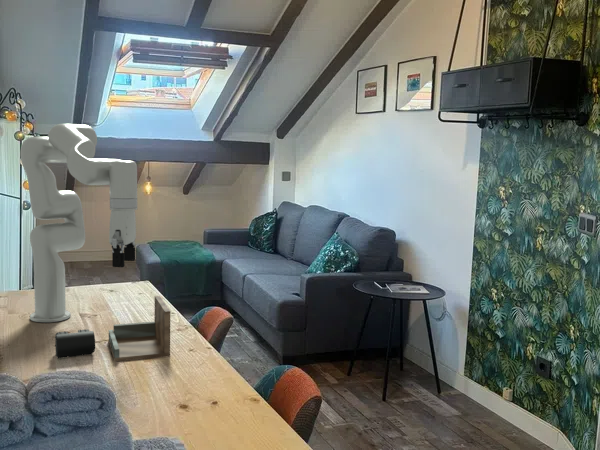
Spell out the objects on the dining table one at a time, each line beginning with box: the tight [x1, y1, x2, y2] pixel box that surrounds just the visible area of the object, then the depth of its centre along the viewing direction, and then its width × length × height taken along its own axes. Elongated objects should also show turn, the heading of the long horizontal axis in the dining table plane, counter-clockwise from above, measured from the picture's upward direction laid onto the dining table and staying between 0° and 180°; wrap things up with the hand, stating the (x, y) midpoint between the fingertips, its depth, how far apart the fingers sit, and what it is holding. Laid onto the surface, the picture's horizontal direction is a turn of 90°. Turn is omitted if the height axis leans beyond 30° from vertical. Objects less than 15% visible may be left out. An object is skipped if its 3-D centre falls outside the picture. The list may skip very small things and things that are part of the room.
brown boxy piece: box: [108, 295, 171, 362], centre depth 177 cm, size 18×15×13 cm
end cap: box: [54, 328, 96, 359], centre depth 170 cm, size 10×7×7 cm
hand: (124, 263), depth 175 cm, fingers open, 9 cm apart
